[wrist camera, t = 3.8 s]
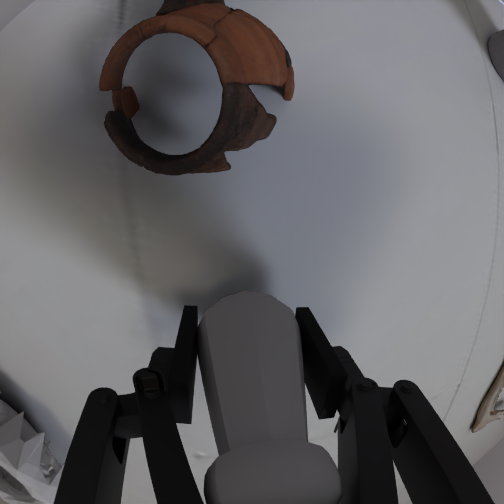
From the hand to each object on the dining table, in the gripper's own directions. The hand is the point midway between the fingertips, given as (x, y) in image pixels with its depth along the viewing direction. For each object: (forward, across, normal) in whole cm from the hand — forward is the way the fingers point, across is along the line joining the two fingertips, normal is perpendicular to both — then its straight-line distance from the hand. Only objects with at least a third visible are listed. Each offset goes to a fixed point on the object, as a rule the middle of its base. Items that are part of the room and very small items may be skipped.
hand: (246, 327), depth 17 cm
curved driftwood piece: (+2, +41, -15) cm, 44 cm away
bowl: (+2, -27, -18) cm, 33 cm away
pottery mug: (+3, -3, +15) cm, 15 cm away
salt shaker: (+1, 0, 0) cm, 1 cm away
